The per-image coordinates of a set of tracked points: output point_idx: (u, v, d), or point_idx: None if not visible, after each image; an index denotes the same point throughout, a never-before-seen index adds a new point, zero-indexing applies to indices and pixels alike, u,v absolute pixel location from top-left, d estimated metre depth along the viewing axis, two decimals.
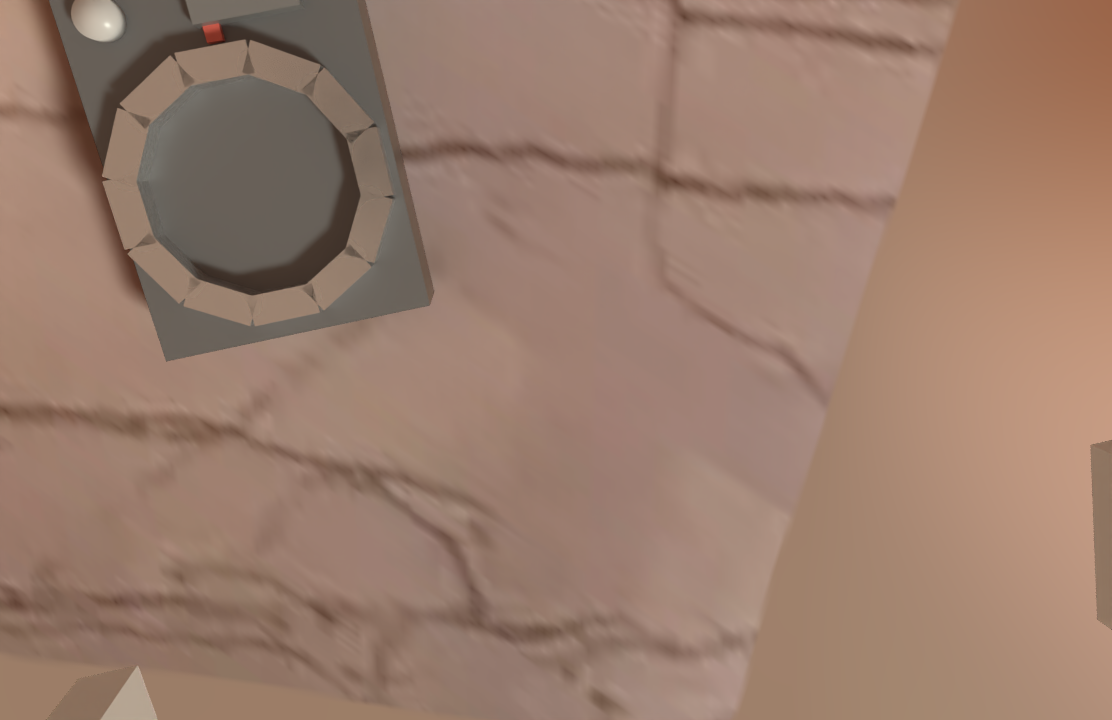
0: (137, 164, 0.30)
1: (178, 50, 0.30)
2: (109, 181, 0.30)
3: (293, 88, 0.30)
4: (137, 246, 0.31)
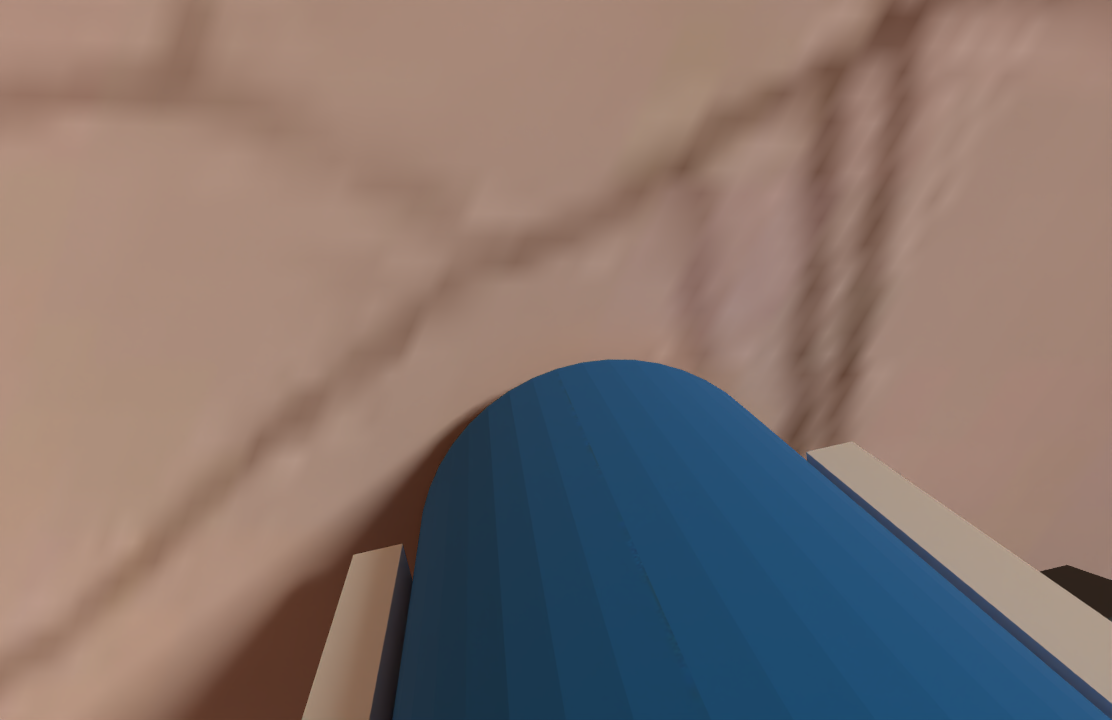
0: None
1: None
2: None
3: None
4: None
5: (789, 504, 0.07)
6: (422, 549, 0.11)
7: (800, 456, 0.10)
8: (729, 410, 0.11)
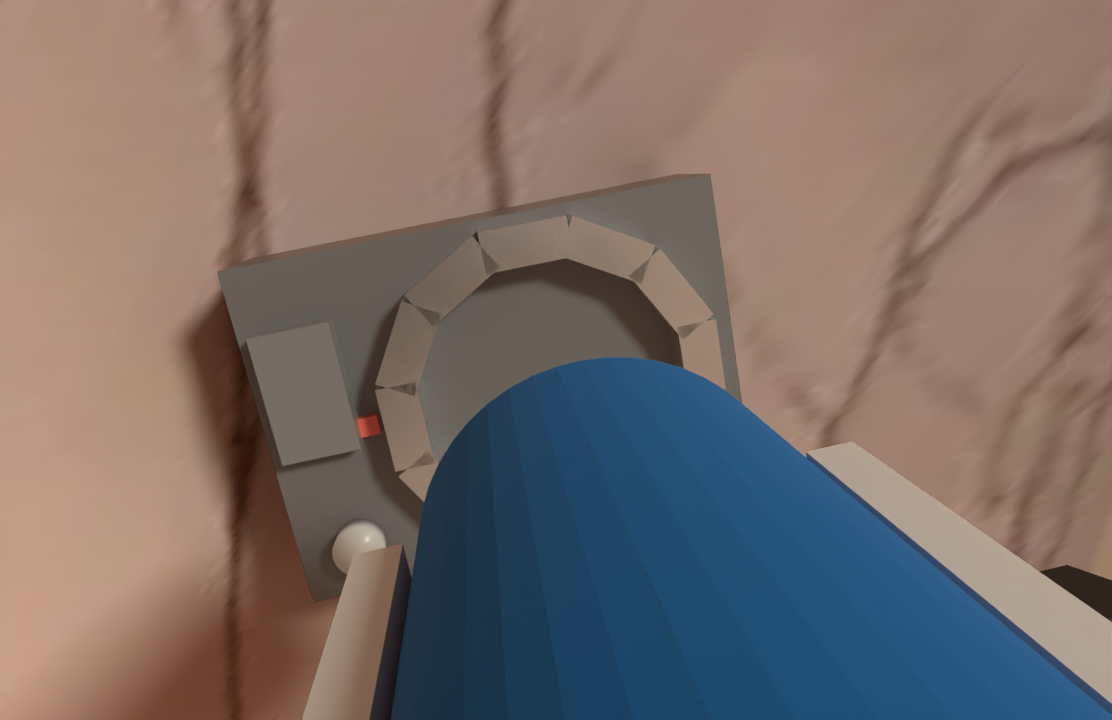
0: None
1: (390, 465, 0.25)
2: None
3: (432, 336, 0.24)
4: None
5: (787, 500, 0.07)
6: (421, 546, 0.11)
7: (800, 453, 0.10)
8: (728, 407, 0.11)
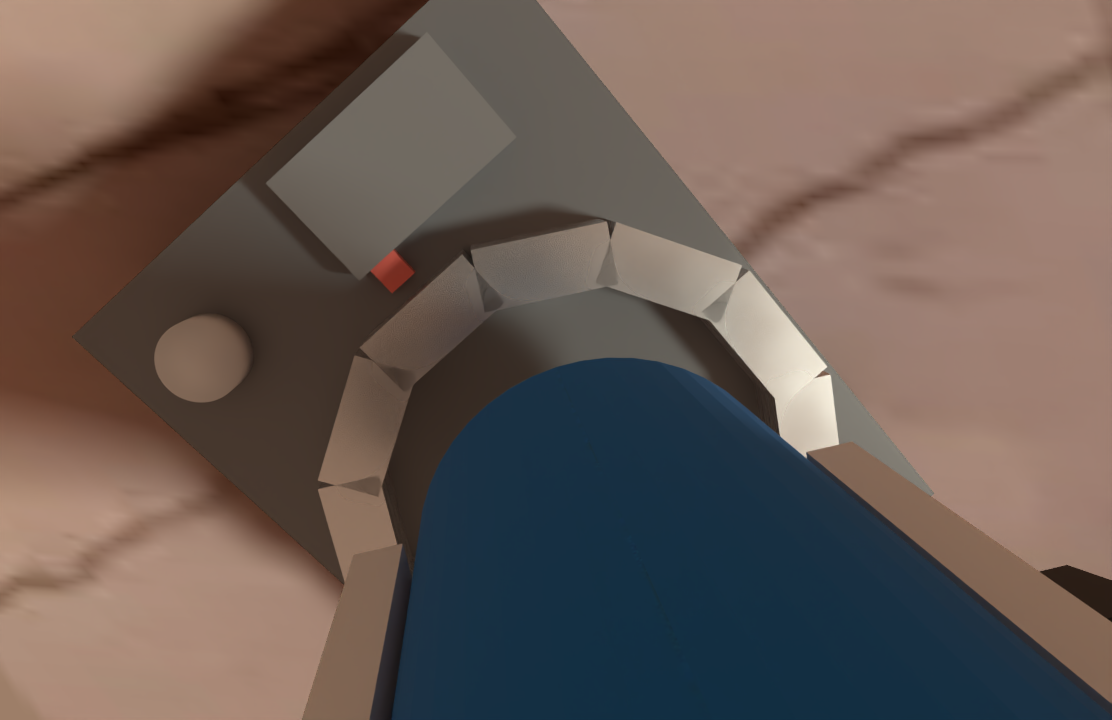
0: None
1: (350, 330, 0.16)
2: None
3: (581, 288, 0.15)
4: None
5: (788, 501, 0.07)
6: (422, 547, 0.11)
7: (800, 454, 0.10)
8: (729, 408, 0.11)
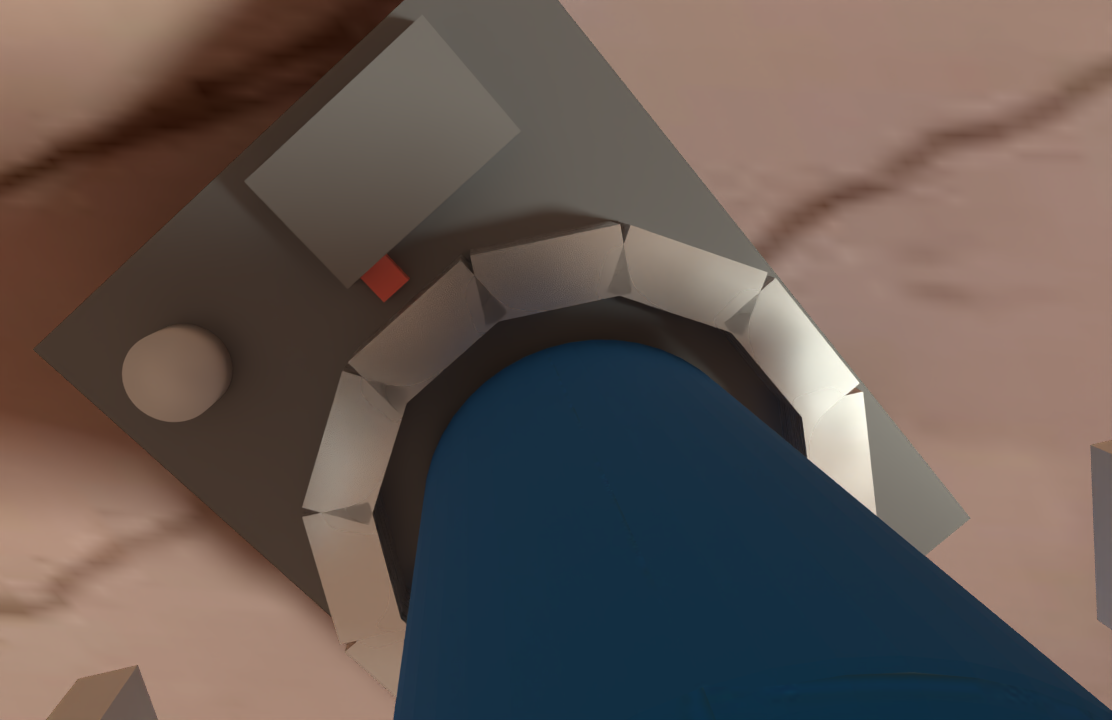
0: (388, 590, 0.15)
1: (338, 342, 0.15)
2: (357, 645, 0.15)
3: (591, 297, 0.14)
4: None
5: (738, 449, 0.09)
6: (427, 505, 0.12)
7: (759, 419, 0.12)
8: (698, 381, 0.12)
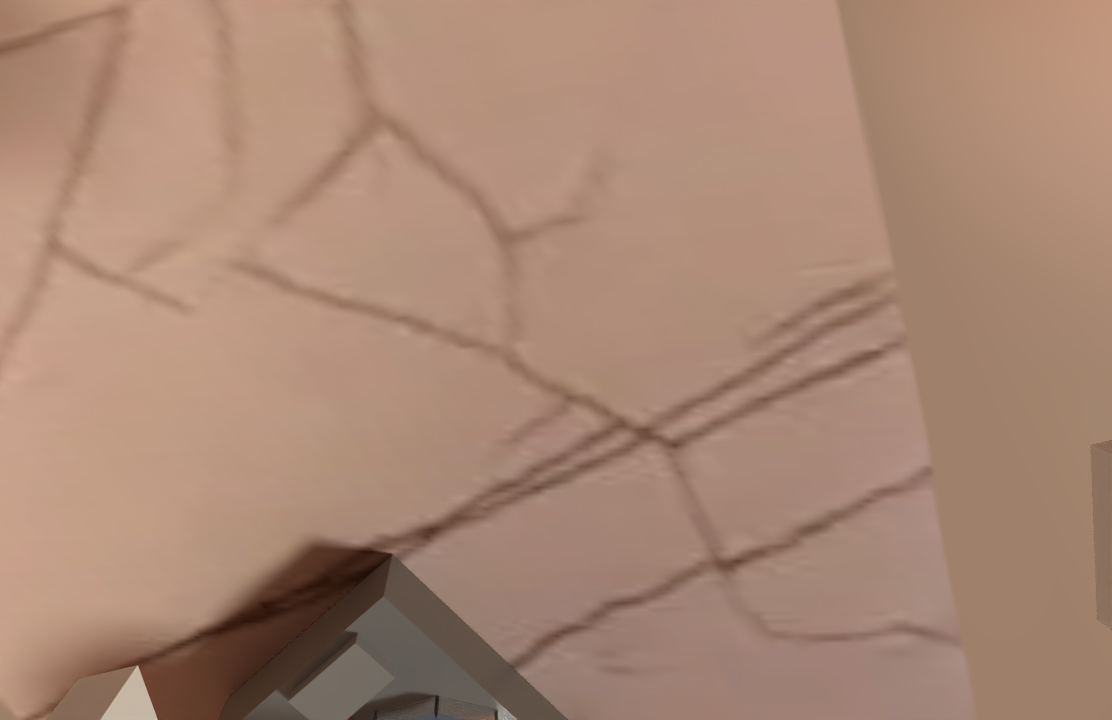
0: None
1: None
2: None
3: None
4: None
5: None
6: None
7: None
8: None
